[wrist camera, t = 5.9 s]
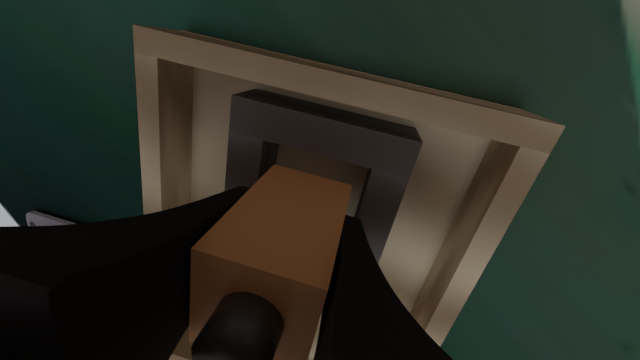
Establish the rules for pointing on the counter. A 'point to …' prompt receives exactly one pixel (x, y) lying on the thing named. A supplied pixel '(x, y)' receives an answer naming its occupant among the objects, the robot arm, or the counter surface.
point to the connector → (266, 269)
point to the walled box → (341, 155)
